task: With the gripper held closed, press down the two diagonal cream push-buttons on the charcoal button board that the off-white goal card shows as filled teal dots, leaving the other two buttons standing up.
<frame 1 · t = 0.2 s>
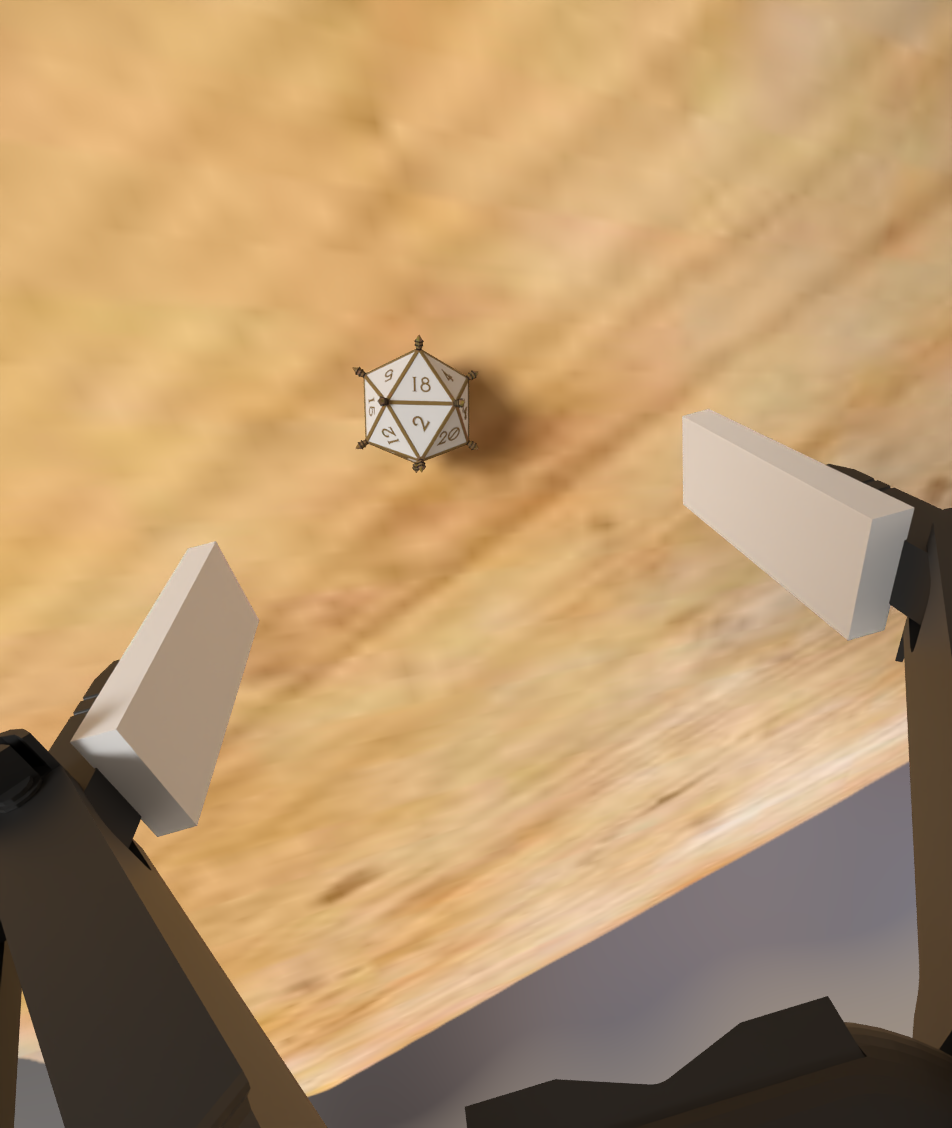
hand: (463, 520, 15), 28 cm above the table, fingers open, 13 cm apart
game die: (413, 395, 41), on the table
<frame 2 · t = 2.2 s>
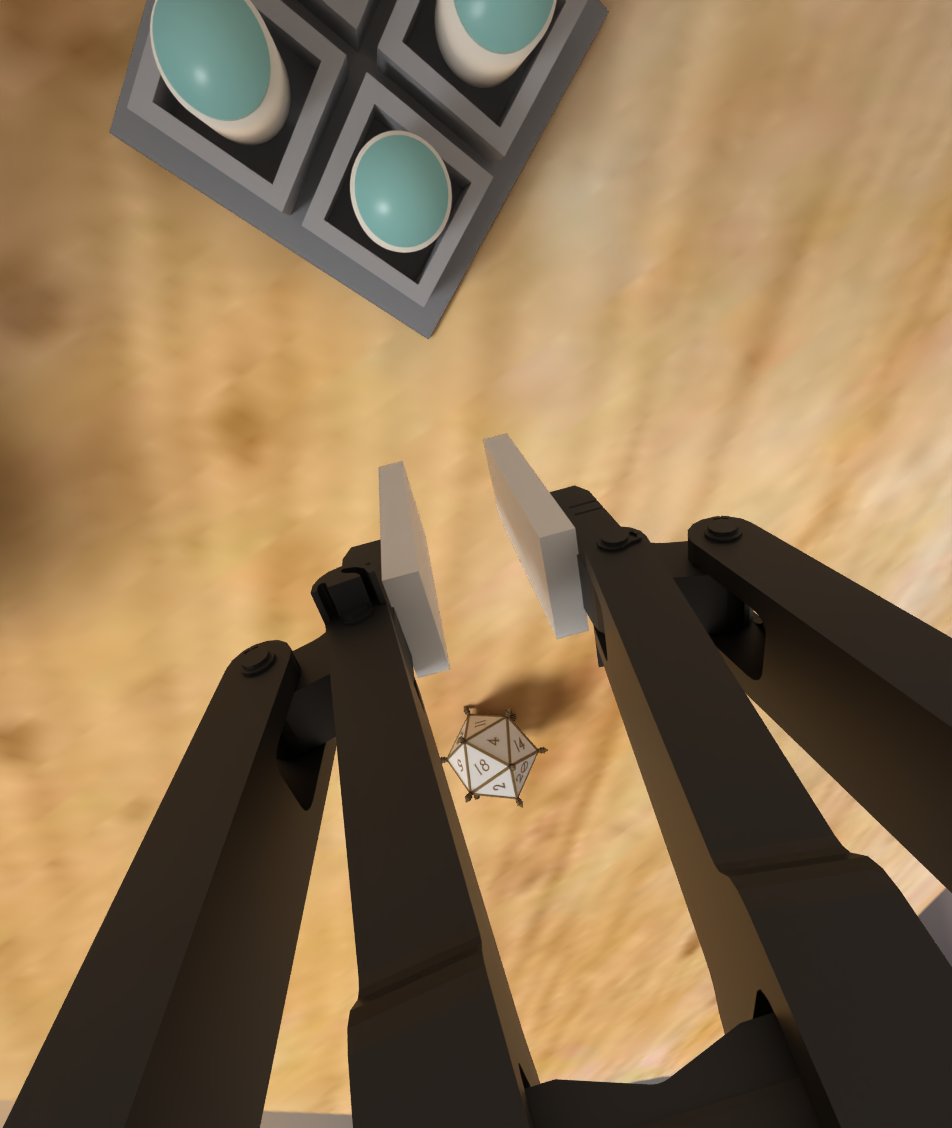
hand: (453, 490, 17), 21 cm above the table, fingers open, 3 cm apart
game die: (484, 720, 52), on the table
button a: (492, 4, 22), point 6 cm above the table, slide at 0.0 cm
board: (362, 73, 27), on the table
button d: (226, 68, 22), point 6 cm above the table, slide at 0.0 cm
button b: (399, 197, 25), point 6 cm above the table, slide at 0.0 cm
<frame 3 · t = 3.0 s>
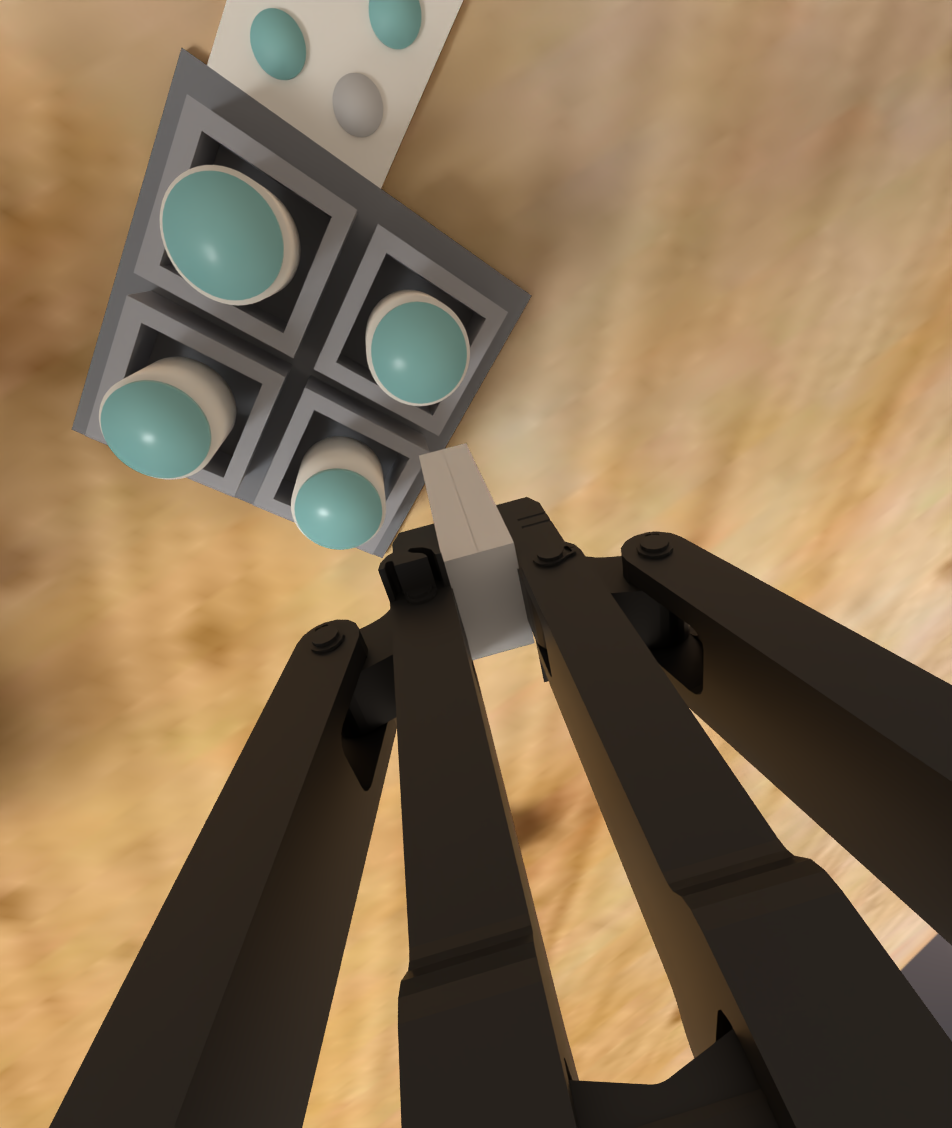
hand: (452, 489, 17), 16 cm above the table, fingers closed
button a: (414, 346, 25), point 6 cm above the table, slide at 0.0 cm
board: (305, 360, 29), on the table
button c: (237, 240, 21), point 6 cm above the table, slide at 0.0 cm
button d: (173, 417, 24), point 6 cm above the table, slide at 0.0 cm
goal card: (337, 33, 23), on the table
button b: (340, 492, 27), point 6 cm above the table, slide at 0.0 cm
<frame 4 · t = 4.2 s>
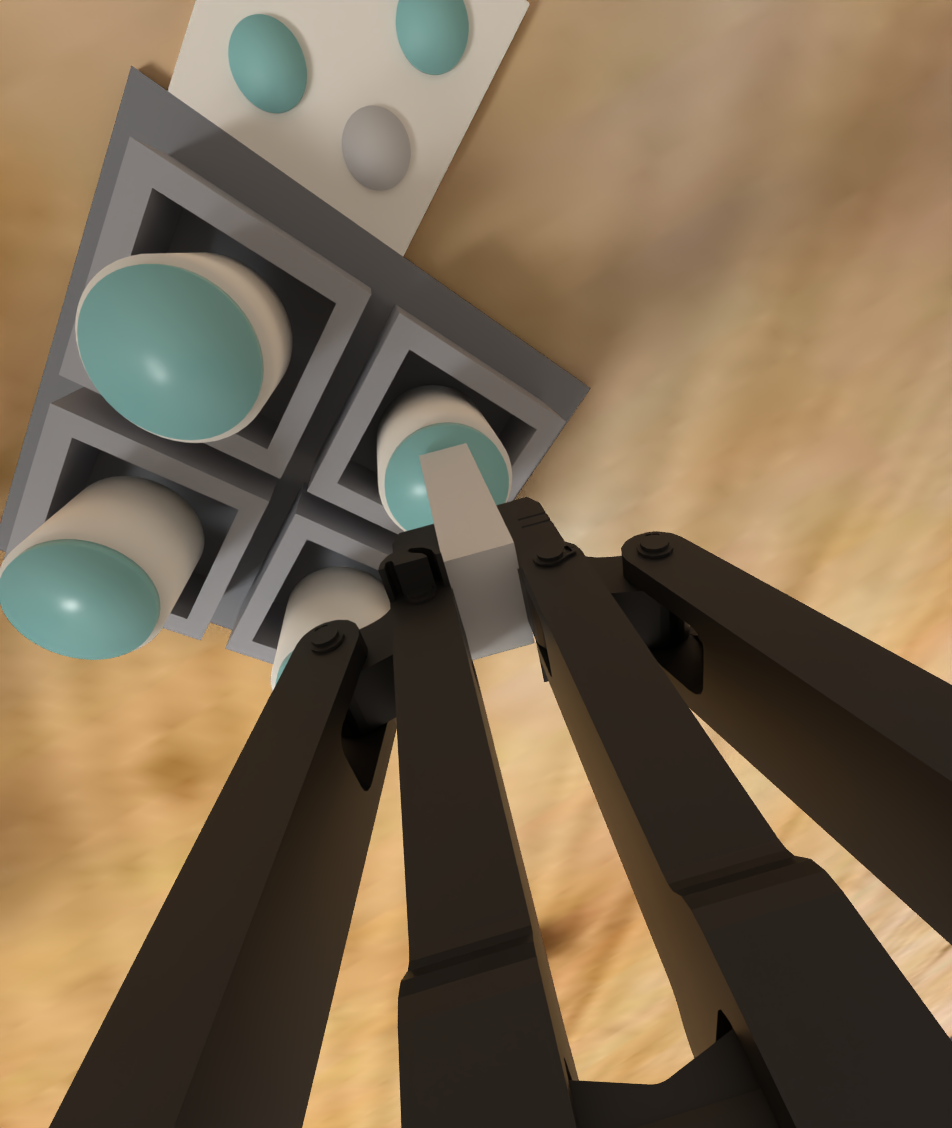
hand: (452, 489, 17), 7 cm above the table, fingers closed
button a: (439, 462, 19), point 4 cm above the table, slide at 1.3 cm, touching gripper
board: (298, 463, 23), on the table
button c: (199, 343, 15), point 6 cm above the table, slide at 0.0 cm
button d: (113, 565, 18), point 6 cm above the table, slide at 0.0 cm
goal card: (351, 51, 17), on the table
button b: (338, 646, 21), point 6 cm above the table, slide at 0.0 cm
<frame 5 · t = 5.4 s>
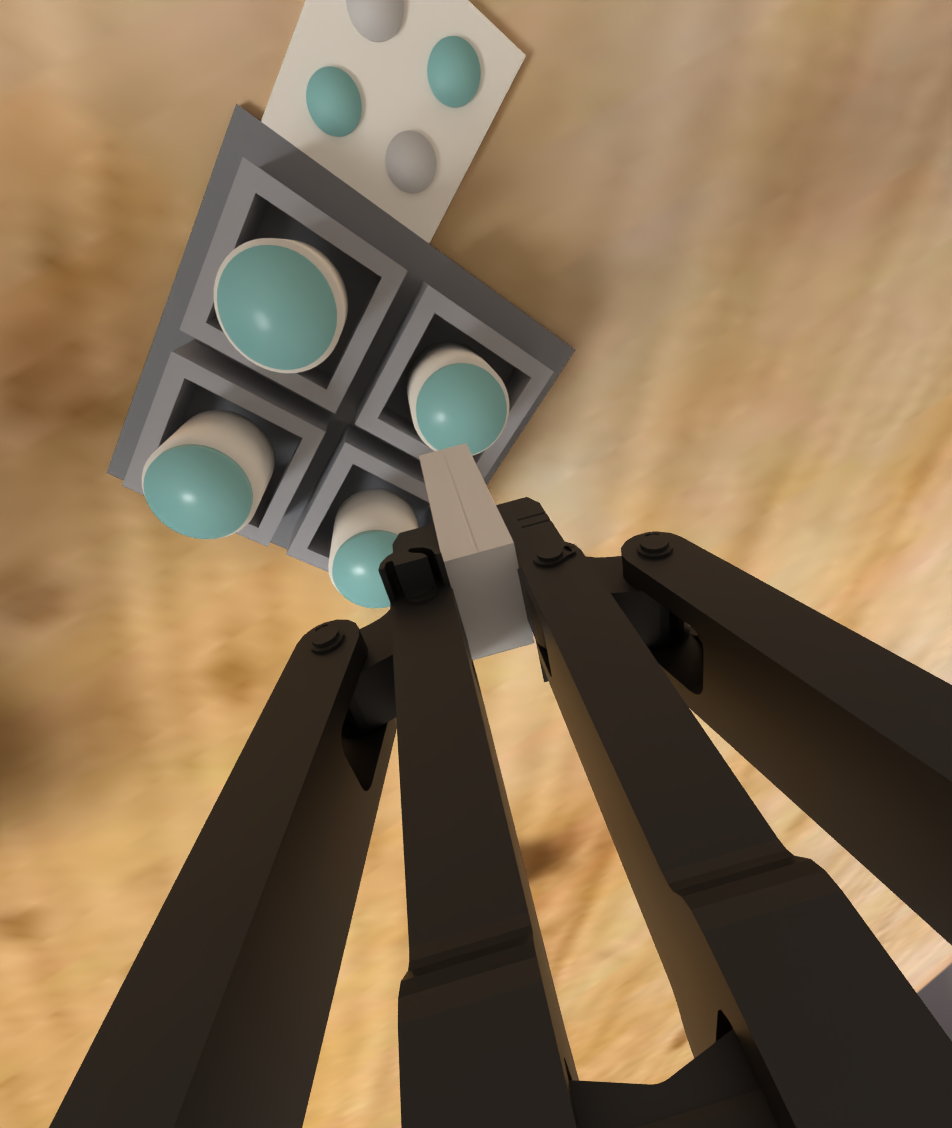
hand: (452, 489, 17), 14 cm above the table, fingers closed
button a: (455, 399, 26), point 4 cm above the table, slide at 1.8 cm
board: (343, 408, 29), on the table
button c: (287, 304, 21), point 6 cm above the table, slide at 0.0 cm
button d: (213, 474, 24), point 6 cm above the table, slide at 0.0 cm
goal card: (393, 90, 23), on the table
button b: (376, 547, 27), point 6 cm above the table, slide at 0.0 cm
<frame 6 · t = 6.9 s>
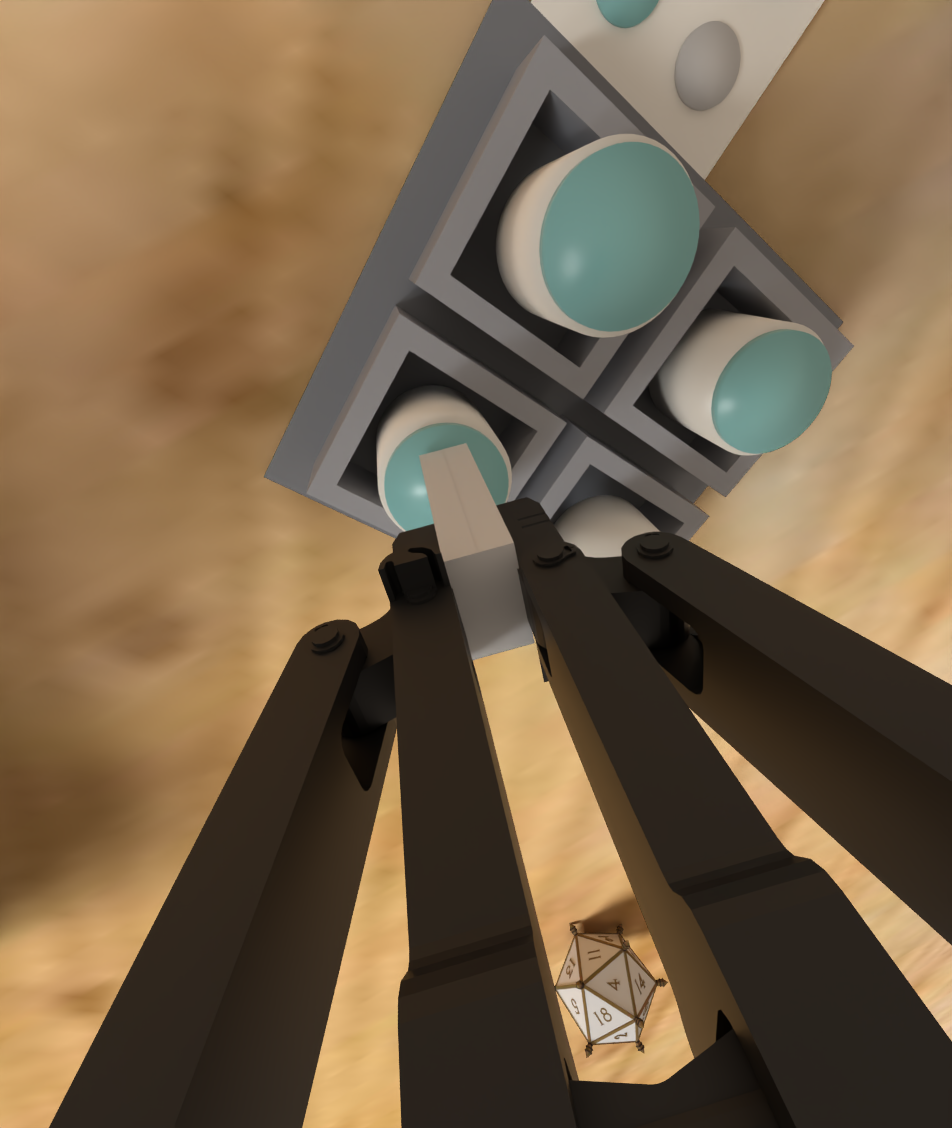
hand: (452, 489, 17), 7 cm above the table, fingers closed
game die: (587, 930, 48), on the table
button a: (733, 380, 20), point 4 cm above the table, slide at 1.8 cm
board: (556, 395, 23), on the table
button c: (588, 244, 15), point 6 cm above the table, slide at 0.0 cm
button d: (439, 462, 19), point 4 cm above the table, slide at 1.5 cm, touching gripper
button b: (617, 570, 21), point 6 cm above the table, slide at 0.0 cm
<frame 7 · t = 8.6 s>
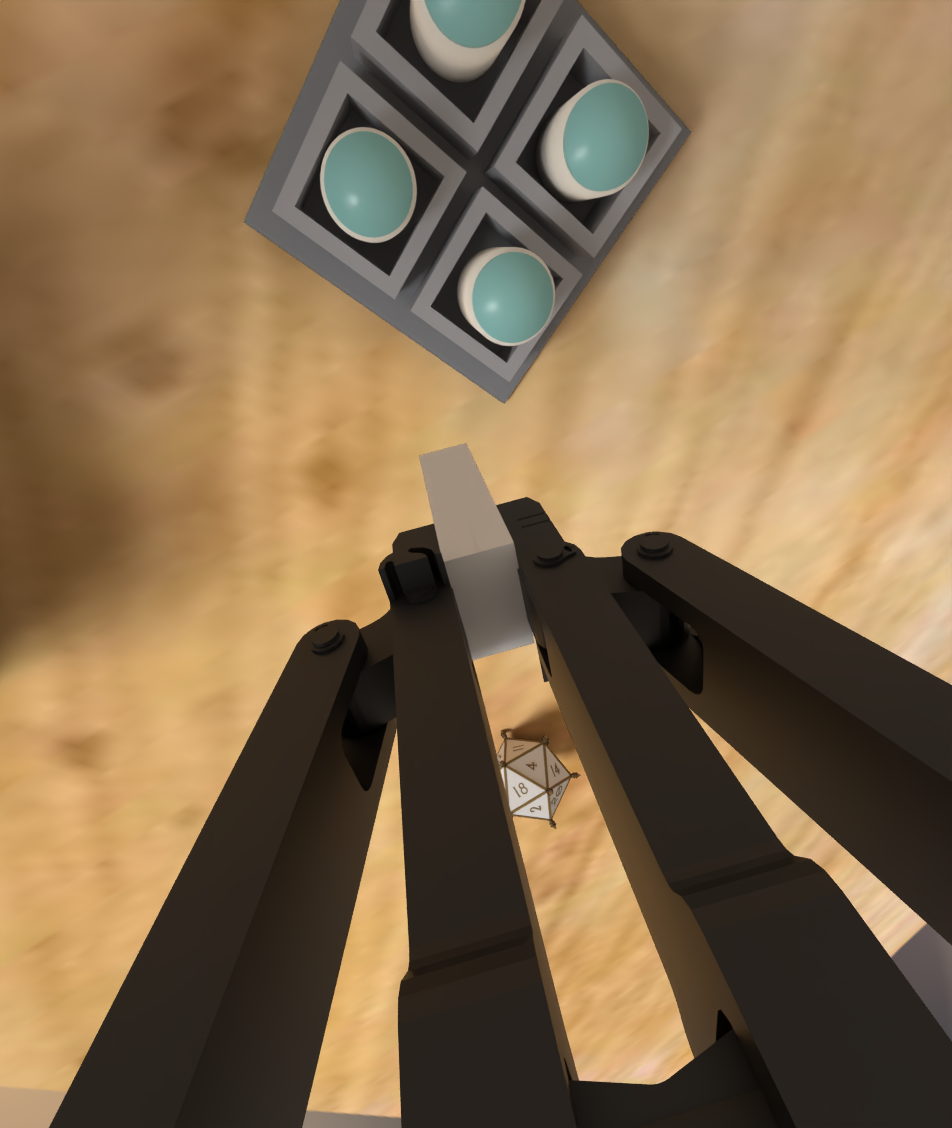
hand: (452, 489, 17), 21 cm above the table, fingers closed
game die: (518, 743, 55), on the table
button a: (590, 146, 27), point 4 cm above the table, slide at 1.8 cm
board: (470, 177, 30), on the table
button d: (369, 191, 27), point 4 cm above the table, slide at 1.8 cm
button b: (504, 295, 28), point 6 cm above the table, slide at 0.0 cm
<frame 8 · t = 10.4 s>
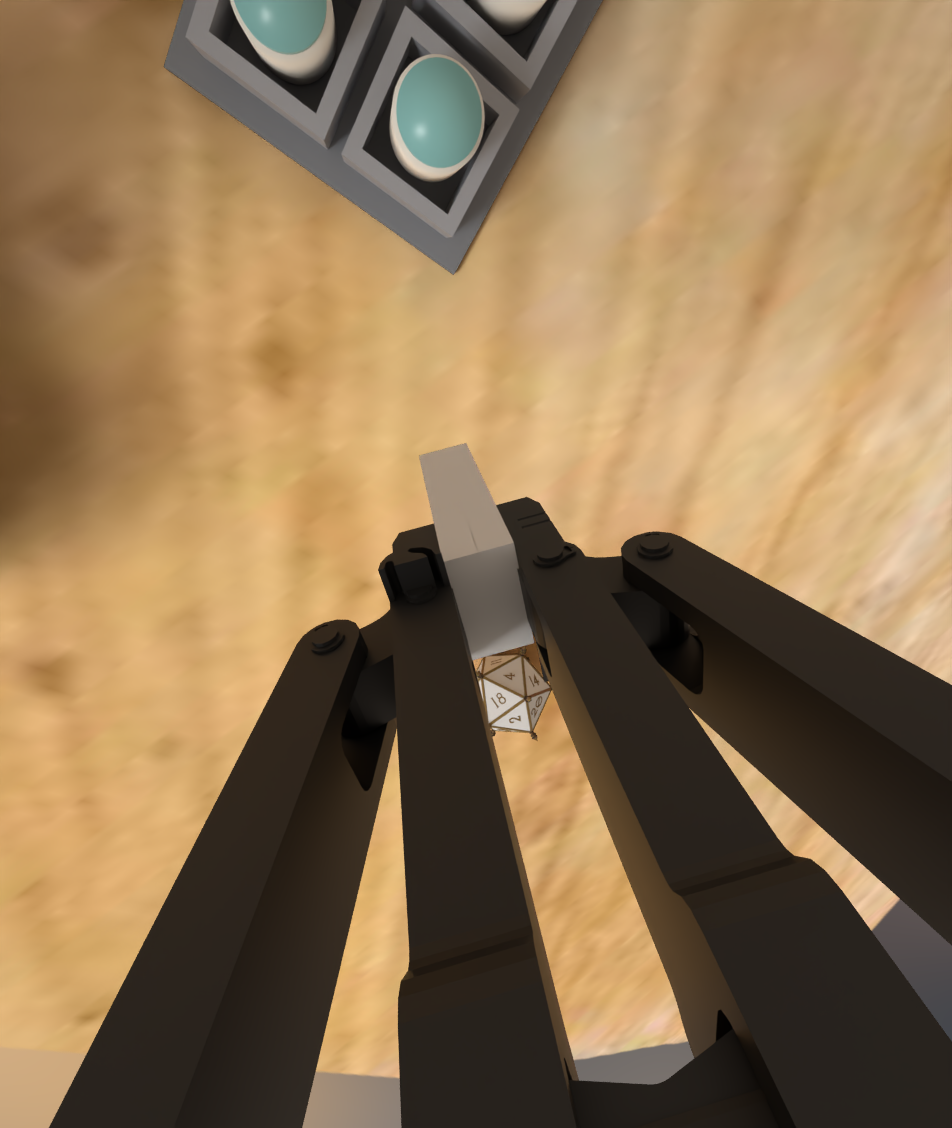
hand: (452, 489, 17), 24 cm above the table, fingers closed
game die: (498, 663, 54), on the table
board: (398, 12, 29), on the table
button d: (286, 11, 26), point 4 cm above the table, slide at 1.8 cm
button b: (434, 124, 27), point 6 cm above the table, slide at 0.0 cm
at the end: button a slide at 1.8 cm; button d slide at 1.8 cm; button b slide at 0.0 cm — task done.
